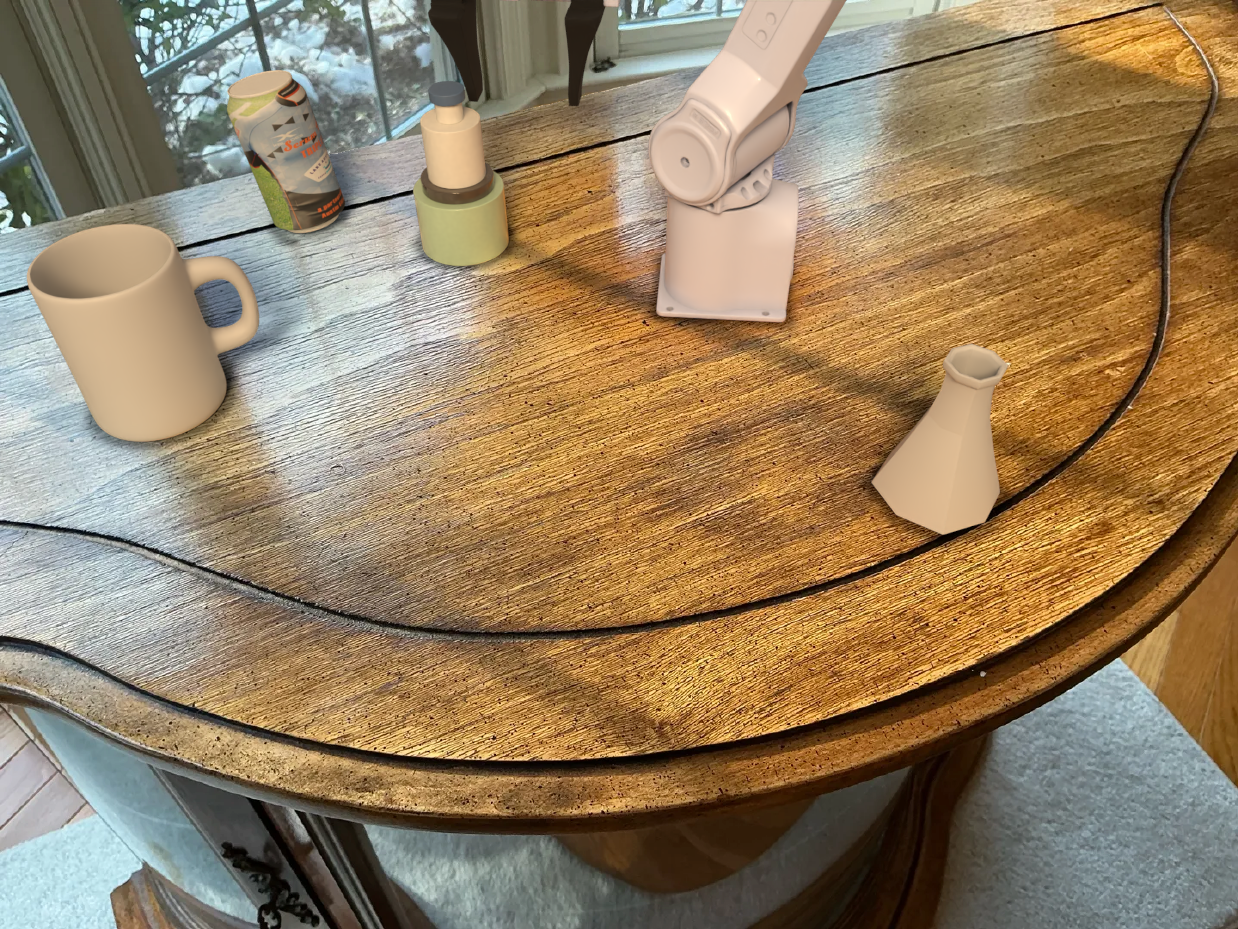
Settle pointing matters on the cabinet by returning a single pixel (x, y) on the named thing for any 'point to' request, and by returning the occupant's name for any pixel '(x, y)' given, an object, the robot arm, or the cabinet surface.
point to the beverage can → (285, 151)
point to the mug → (139, 327)
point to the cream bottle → (452, 138)
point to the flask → (949, 450)
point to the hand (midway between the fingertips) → (525, 98)
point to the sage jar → (462, 220)
